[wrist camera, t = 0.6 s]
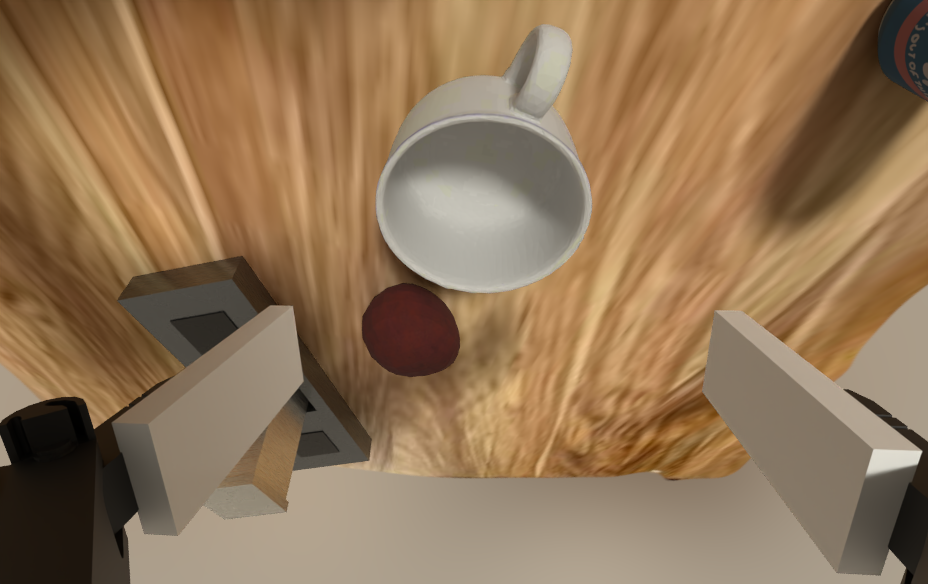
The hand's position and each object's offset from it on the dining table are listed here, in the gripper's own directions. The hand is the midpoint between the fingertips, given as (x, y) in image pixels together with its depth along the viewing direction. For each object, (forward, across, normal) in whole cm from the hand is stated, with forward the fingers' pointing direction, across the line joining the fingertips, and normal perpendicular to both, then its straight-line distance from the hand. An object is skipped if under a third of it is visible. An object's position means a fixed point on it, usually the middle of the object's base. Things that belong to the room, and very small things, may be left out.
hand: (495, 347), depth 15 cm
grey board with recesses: (+25, -21, -15) cm, 36 cm away
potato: (+23, -8, -7) cm, 25 cm away
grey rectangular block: (+25, -21, -15) cm, 36 cm away
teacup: (+17, -1, +7) cm, 18 cm away
